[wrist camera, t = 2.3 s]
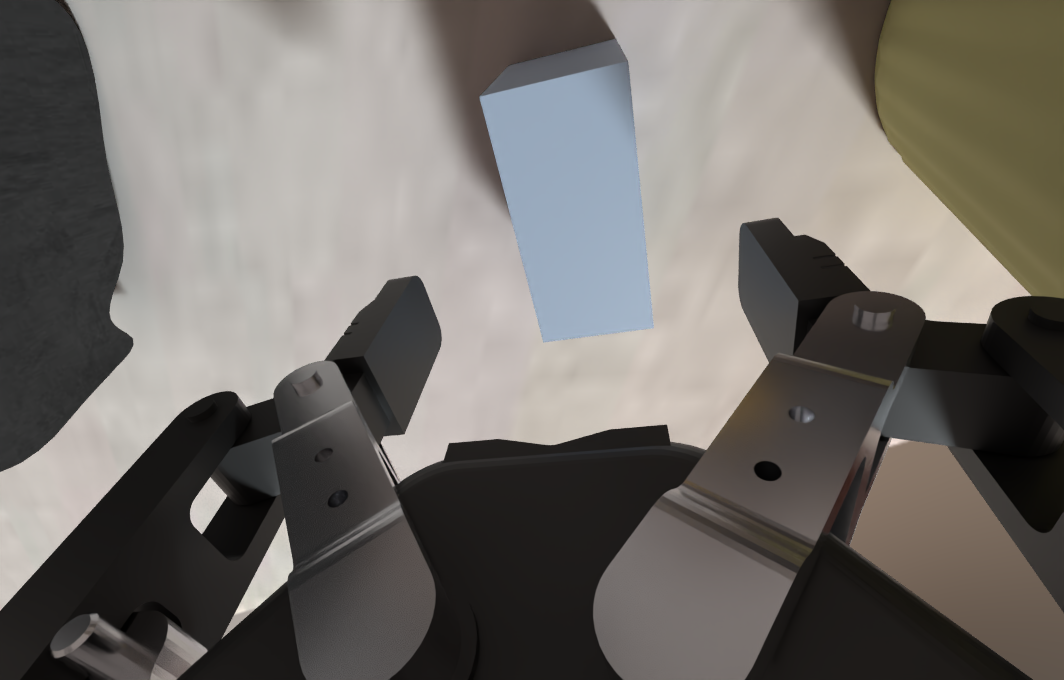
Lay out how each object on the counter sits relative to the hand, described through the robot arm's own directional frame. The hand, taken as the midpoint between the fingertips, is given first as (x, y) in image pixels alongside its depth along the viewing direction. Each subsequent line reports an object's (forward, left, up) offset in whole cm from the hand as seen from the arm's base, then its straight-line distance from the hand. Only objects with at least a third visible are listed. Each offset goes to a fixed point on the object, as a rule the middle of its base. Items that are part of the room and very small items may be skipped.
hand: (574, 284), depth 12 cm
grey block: (0, 0, -9) cm, 9 cm away
